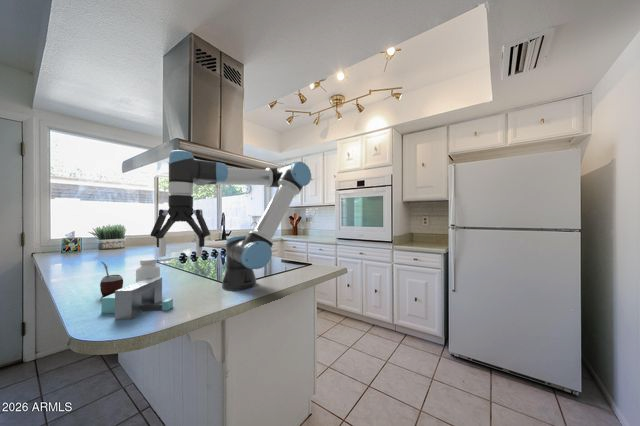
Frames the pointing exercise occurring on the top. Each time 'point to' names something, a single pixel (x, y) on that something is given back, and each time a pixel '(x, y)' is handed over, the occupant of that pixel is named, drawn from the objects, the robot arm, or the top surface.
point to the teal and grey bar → (167, 304)
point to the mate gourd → (110, 283)
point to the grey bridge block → (137, 297)
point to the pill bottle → (147, 269)
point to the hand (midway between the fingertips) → (180, 256)
